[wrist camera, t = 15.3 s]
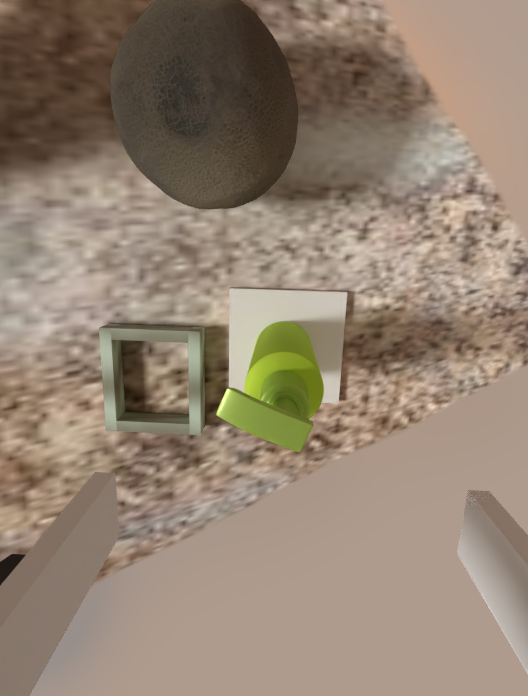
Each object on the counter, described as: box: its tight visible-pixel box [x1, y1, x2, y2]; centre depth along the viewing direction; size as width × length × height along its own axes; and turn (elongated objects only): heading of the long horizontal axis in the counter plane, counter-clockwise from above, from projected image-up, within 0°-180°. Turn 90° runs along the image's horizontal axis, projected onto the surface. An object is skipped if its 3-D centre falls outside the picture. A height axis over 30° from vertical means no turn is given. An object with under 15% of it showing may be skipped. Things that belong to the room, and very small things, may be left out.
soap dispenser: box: [216, 321, 324, 452], centre depth 32 cm, size 6×7×20 cm
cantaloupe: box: [110, 0, 298, 209], centre depth 31 cm, size 14×14×15 cm
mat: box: [229, 288, 347, 403], centre depth 42 cm, size 12×12×1 cm
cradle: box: [99, 324, 205, 435], centre depth 43 cm, size 11×10×2 cm
